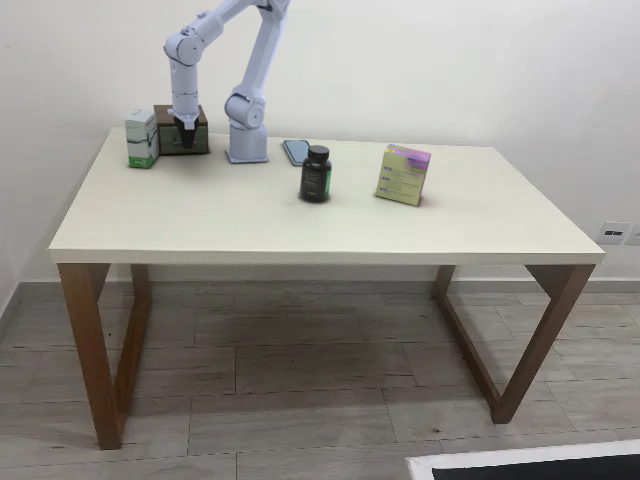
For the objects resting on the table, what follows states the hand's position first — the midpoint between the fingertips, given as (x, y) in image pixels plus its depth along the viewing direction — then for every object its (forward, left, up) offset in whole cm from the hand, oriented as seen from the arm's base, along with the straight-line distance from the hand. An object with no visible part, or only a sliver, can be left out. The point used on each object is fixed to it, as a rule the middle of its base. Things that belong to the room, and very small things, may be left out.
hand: (187, 147), depth 119 cm
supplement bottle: (-27, +17, -6) cm, 33 cm away
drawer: (0, -13, -5) cm, 14 cm away
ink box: (+10, -7, -6) cm, 14 cm away
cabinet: (0, -17, -6) cm, 18 cm away
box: (-48, +20, -6) cm, 52 cm away
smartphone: (-31, -7, -6) cm, 32 cm away
